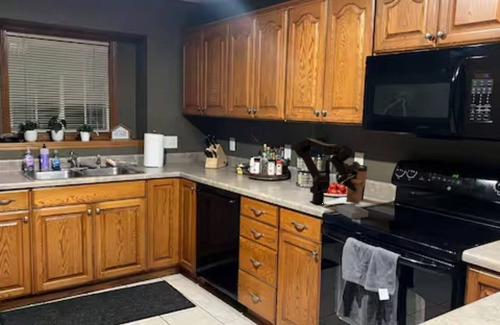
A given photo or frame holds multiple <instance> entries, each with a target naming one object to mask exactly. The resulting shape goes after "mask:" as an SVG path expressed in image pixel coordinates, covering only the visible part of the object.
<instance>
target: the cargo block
mask: <svg viewBox="0 0 500 325" xmlns="http://www.w3.org/2000/svg"><path fill="white" fill-rule="evenodd" d="M352 183H357V184H360V183H361V180H357V179H353V180H352Z"/></svg>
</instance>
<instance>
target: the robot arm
mask: <svg viewBox="0 0 500 325" xmlns="http://www.w3.org/2000/svg"><path fill="white" fill-rule="evenodd" d="M313 148H314V149H317V150H320V151H321V152H322V153H323V154H324V155H325V156H327V157H328V158H327V162H326V163H327V164H330V163H331V164H332V166H333V167H334V169H335V172H336V173H338V175H339V177H337V179H336V183H337V185H342V186H344V187H347V189H348V188H350V189H351V190H353V191H356V188H355V186H354V185H353V183H352V180H353V179H357V176H358V173H359V171H358V170H357V169H360V166H359V165H361V163H359V162H358V161H357V160H356V161H355V160H354V161H353V162H352V163H351V164H348V163H347V162H346V161H347V160H348V159H349V158H351V157H352V156H353V154H354V152H353V149H351V148H350V147H349V146H348V145H346V144H343V145H342V146H341V147H339V145H338V144H332V143H327V142H323V141H321V140H318V139H315V138H313V137H306V138H305V139H304V140H302V141H301V142H299V143H297V144H296V145H295V146H294V152H295V154H296V155H297V156H298V157H299V158H300V159H302V161H303V163H304V164H305V166H306V168H307V170H308V172H309V174H310V176H311V178H312V186H310V188H309V192H310V193H311V194H312V199H311V200H309V203H310V204H313V205H314V206H320V204H322V203H325V202H324V201H325V200H324V199H325V194H327V193H328V191H329V189H330V180H328V177H327V176H326V175H322V174H321V173H320V171H319V169H318V167H317V165H316V163H315V161H314V160H313V158H312V156H311V152H312V151H311V149H313ZM329 156H330V157H329Z"/></svg>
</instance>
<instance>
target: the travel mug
mask: <svg viewBox="0 0 500 325" xmlns="http://www.w3.org/2000/svg"><path fill="white" fill-rule="evenodd" d="M359 166H360V169H357V170H358V171H359V173H358V176H357V180H361V182H363V190H362V198H361V201H363V200H364V196H365V190H366V183H367V174H368V173H367V172H368V166H367V165H363V164H360V165H359Z"/></svg>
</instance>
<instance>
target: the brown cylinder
mask: <svg viewBox="0 0 500 325" xmlns="http://www.w3.org/2000/svg"><path fill="white" fill-rule="evenodd" d="M353 185H354V186H355V188H356V191H353V190H351V189H350V188H348V187H347V190H346V191H347V192H346V199H345V200H346V201H345V202H347V203H352V204H354V205H358V204H359V203H361V202H362V200H361V198H362V190H363V182H361V183H360V184H357V183H353Z"/></svg>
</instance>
